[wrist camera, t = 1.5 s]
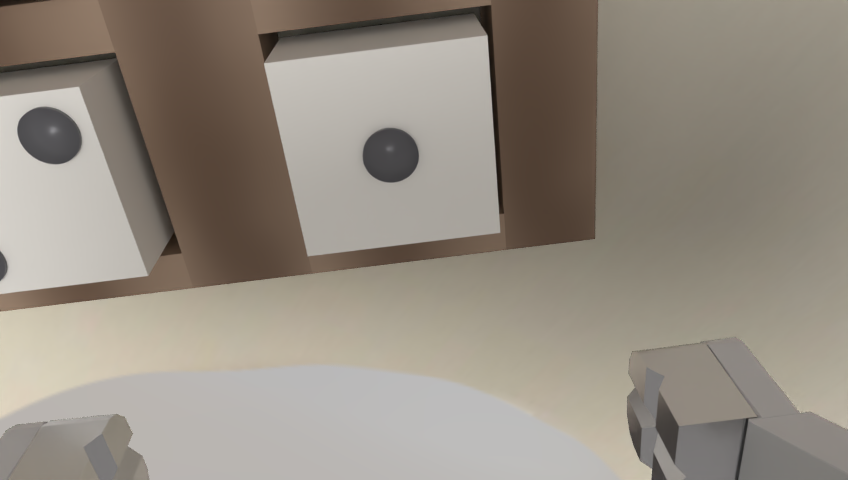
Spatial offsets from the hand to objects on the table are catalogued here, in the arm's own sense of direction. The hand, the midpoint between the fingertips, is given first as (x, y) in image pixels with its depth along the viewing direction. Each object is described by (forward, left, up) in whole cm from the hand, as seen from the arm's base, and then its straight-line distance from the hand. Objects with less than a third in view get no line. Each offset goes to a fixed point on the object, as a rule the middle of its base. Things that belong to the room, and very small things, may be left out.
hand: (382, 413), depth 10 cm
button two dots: (+11, 0, -14) cm, 18 cm away
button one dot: (0, 0, -14) cm, 14 cm away
